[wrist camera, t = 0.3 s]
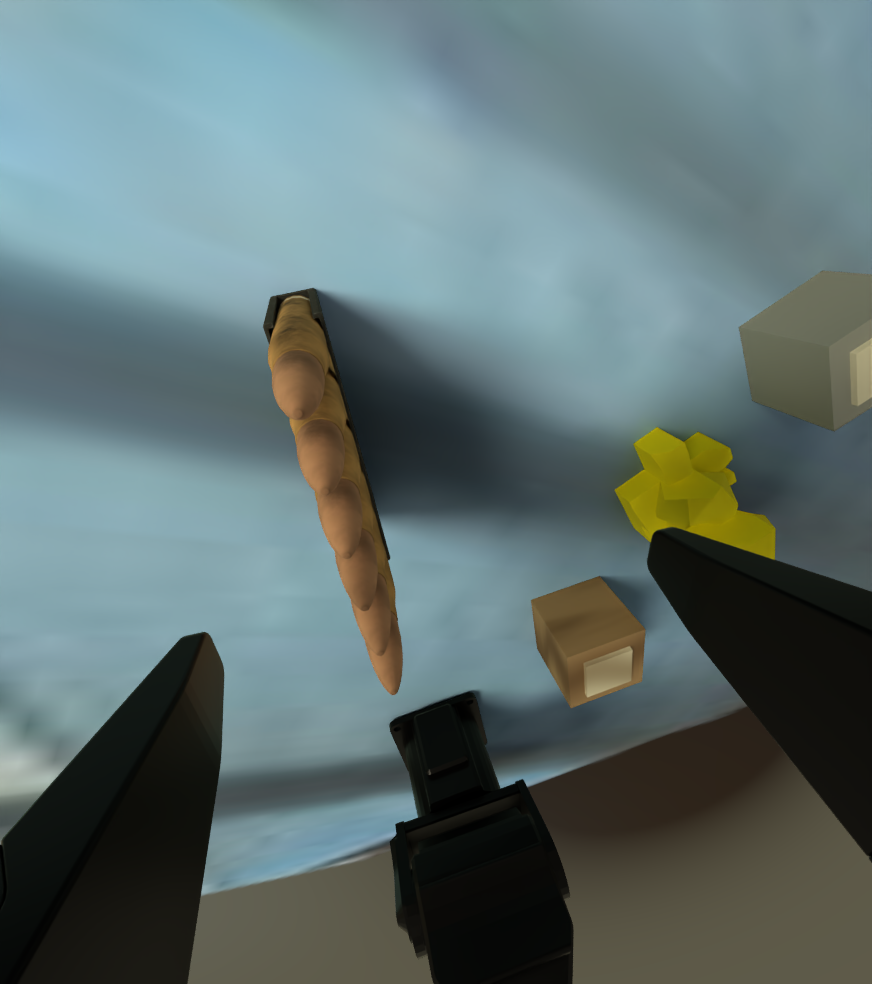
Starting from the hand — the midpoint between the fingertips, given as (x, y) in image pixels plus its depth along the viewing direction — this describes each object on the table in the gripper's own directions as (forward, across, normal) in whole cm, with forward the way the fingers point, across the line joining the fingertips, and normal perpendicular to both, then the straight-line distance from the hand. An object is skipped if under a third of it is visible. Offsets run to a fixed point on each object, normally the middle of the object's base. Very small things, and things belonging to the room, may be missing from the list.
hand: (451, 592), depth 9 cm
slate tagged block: (+14, -23, 0) cm, 27 cm away
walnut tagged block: (+14, -12, +18) cm, 26 cm away
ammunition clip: (+14, +2, +1) cm, 15 cm away
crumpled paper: (+14, -17, +8) cm, 24 cm away
